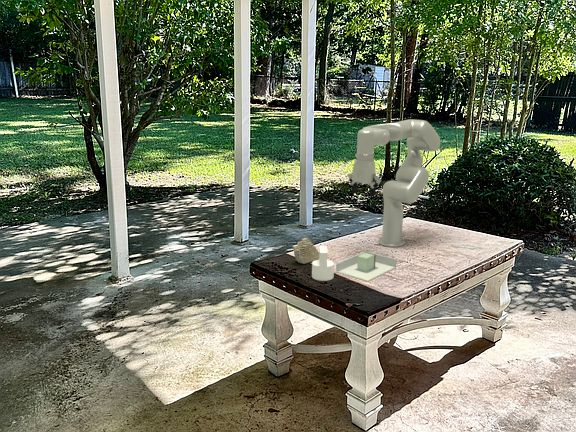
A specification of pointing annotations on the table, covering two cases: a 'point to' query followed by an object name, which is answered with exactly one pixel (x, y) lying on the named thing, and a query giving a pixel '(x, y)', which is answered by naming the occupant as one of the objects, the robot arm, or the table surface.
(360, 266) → the block
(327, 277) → the white knob
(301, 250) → the fossil tooth
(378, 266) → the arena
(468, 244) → the table surface
